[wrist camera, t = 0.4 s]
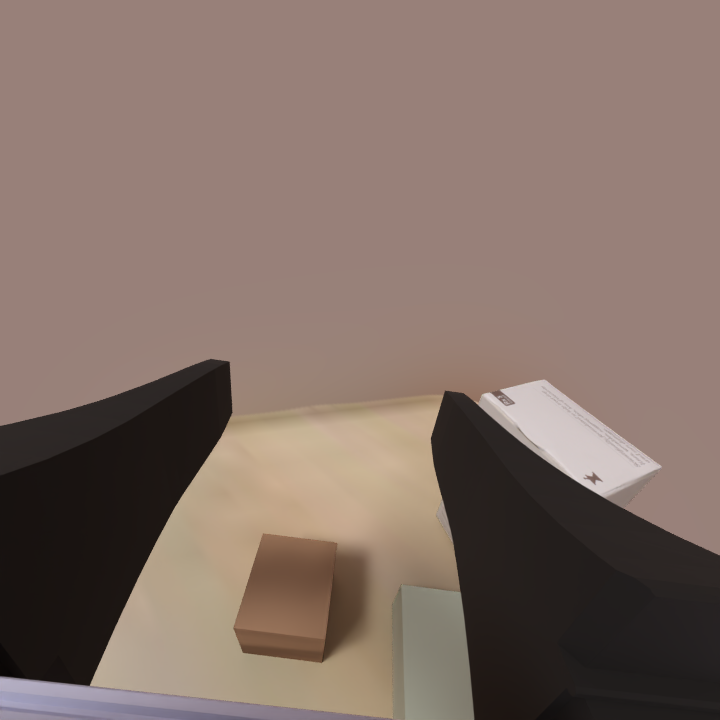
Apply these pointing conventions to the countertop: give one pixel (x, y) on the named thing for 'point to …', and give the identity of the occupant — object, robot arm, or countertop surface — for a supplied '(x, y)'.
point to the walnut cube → (287, 599)
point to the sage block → (430, 656)
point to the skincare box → (568, 441)
